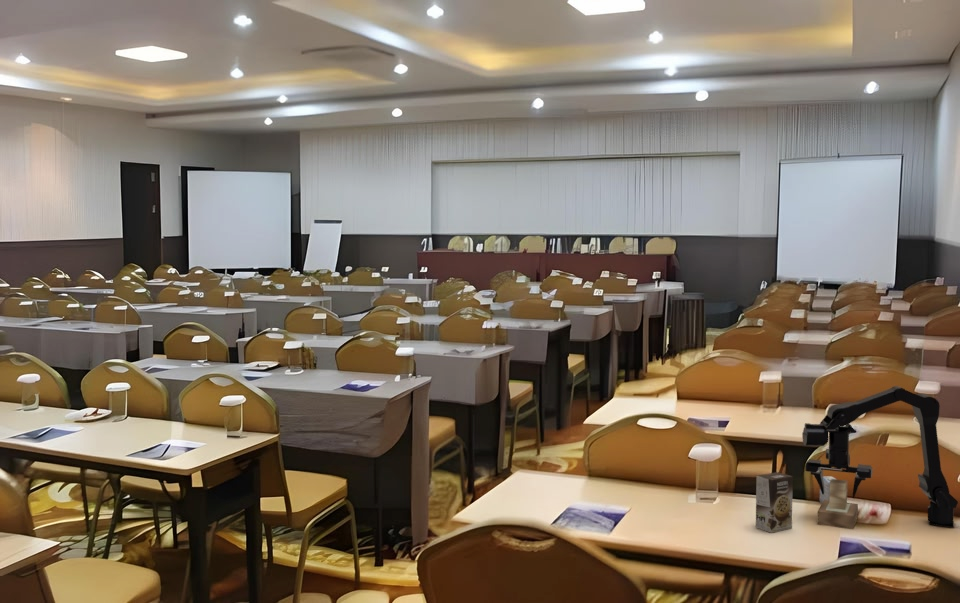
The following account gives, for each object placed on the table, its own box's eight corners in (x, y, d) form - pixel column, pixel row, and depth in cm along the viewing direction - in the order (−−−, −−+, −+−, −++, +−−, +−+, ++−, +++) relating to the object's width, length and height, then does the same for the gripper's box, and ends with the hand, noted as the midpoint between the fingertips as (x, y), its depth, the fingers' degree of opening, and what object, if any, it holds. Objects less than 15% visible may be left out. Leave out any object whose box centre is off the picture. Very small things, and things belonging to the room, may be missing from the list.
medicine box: (842, 508, 266) (842, 482, 266) (828, 508, 266) (828, 482, 266) (832, 501, 274) (832, 476, 273) (819, 501, 274) (819, 476, 274)
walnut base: (857, 516, 258) (857, 503, 257) (853, 529, 246) (853, 515, 245) (823, 511, 263) (823, 498, 262) (817, 524, 251) (817, 510, 250)
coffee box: (771, 533, 242) (771, 479, 242) (754, 527, 248) (755, 474, 247) (793, 528, 247) (793, 475, 246) (776, 522, 252) (776, 471, 252)
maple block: (846, 506, 255) (847, 480, 254) (845, 509, 251) (845, 484, 250) (831, 504, 257) (831, 478, 257) (829, 507, 253) (829, 482, 253)
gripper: (874, 444, 255) (873, 493, 256) (810, 438, 265) (810, 485, 265) (871, 451, 246) (870, 502, 246) (805, 445, 255) (804, 494, 256)
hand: (838, 495), depth 254 cm, fingers open, 8 cm apart
